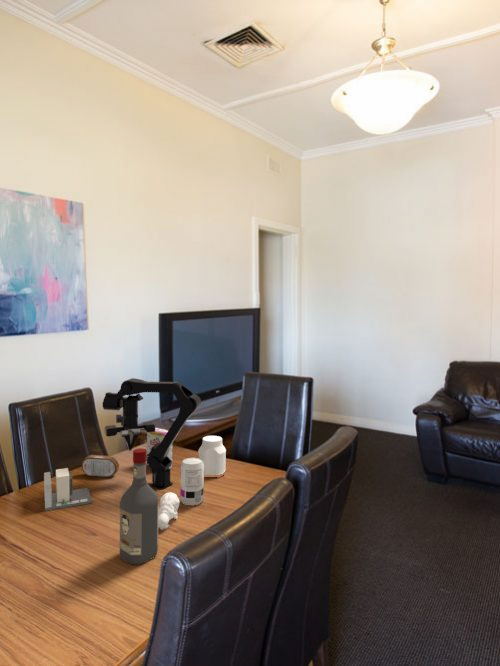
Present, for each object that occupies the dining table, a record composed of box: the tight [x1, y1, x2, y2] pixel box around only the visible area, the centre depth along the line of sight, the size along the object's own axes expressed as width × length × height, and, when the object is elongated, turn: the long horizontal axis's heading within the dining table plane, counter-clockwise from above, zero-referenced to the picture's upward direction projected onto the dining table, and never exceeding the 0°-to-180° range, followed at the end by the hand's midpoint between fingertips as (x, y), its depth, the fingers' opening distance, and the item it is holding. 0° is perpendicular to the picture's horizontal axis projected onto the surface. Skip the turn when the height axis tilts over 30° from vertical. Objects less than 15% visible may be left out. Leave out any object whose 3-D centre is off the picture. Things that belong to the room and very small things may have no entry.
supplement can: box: [179, 457, 205, 506], centre depth 160 cm, size 8×8×15 cm
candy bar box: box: [146, 426, 174, 470], centre depth 193 cm, size 11×5×16 cm, turn 58°
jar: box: [197, 435, 227, 475], centre depth 187 cm, size 12×10×15 cm
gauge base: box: [43, 471, 93, 512], centre depth 159 cm, size 15×12×9 cm
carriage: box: [55, 467, 73, 503], centre depth 157 cm, size 5×10×9 cm, turn 26°
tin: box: [81, 454, 120, 478], centre depth 182 cm, size 15×3×8 cm, turn 84°
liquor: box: [119, 448, 159, 565], centre depth 125 cm, size 9×9×30 cm
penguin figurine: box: [158, 491, 181, 531], centre depth 144 cm, size 6×8×12 cm
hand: (130, 450), depth 175 cm, fingers closed
